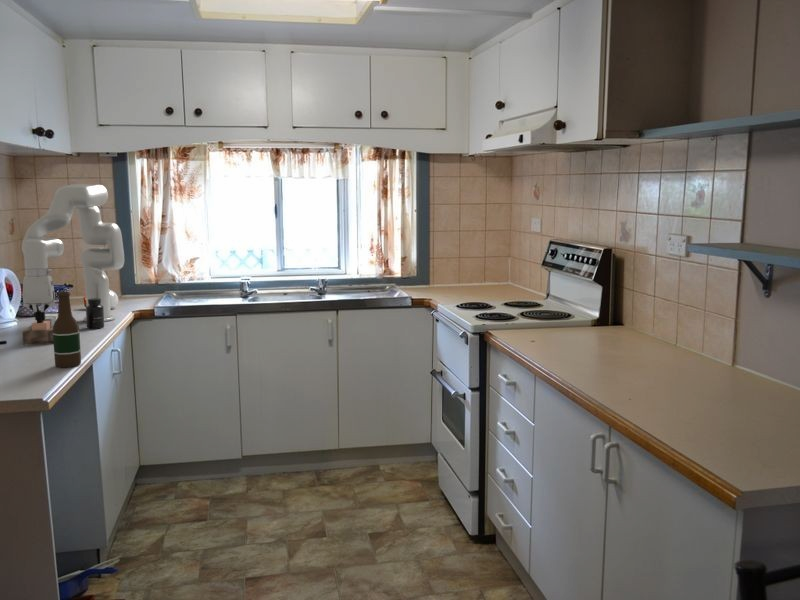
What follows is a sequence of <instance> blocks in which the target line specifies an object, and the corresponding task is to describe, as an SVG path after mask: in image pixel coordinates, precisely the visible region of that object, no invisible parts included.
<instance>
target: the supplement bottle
mask: <svg viewBox="0 0 800 600" xmlns="http://www.w3.org/2000/svg"><path fill="white" fill-rule="evenodd" d="M100 303H101V299H99V298H93V299H88V304H89V305H88V306H87V307H85V317H86V321H85V323H86V328H87V329H88V328H89V330H98V329H99V330H100V329H103V328H105V321H104V307H103V306H102V305H100Z"/></svg>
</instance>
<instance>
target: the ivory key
mask: <svg viewBox="0 0 800 600" xmlns="http://www.w3.org/2000/svg"><path fill="white" fill-rule="evenodd" d="M45 317H54V319H55V321H56V320H57V318H58V313H45Z"/></svg>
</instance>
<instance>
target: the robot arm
mask: <svg viewBox="0 0 800 600" xmlns="http://www.w3.org/2000/svg"><path fill="white" fill-rule="evenodd" d="M55 191H56V192H55V193H54V196H53V198H52V200H51V204H50V206H49V209H48V211H47V213H46V214H45V215H43V216H41V217H40V218H39V219H37V220H35V222H33V223H32V224H31V225H30V226H29V227H28V228H27V229H26V232H25V234H24V237H23V239H22V243H21V251H22V253H23V256H24V259H23V260H24V269H25V271H24V272H25V276H24V277H23V281H22V301H23V305H22V307H24V308H28V309H30V310H32V312H34V319H35V321H37V323H39V322H40V323H42V322H44V320H45V314H46V313H45V312H46V310H47V309H49V308H52V307H55V306H56V301H55V300H56V295H55V287H54V282H53V278H52V275H50V274H53V269H50V268H49V263H48V262H49V261H48V258H50V259H51V258H53V259H54V258H59V257H61V256H62V255H63V254H64V251H65V246H64V245H65V244H64V242H63V241H62V240H61V239H59V238H57V237H44V236H45V235H47V234H49V233H51V232H55V231H58V230H60V229H62V228H65V227H67V226H68V225H69V224H70V222H71V221H72V218H73V217H72V216H73V214H74V212H75V210H76V212H77V215H78V219H79V227H80V234H81V237H82V238H81V239H82V241H83V243H85V245H91V246H95V247H87V248H85V249H84V250H83V251H82V252H81V255H80V260H81V265H82V269H83V276H84V285H85V286H84V287H85V289H84V290H85V297H86V305H87V306H88V305H89V304H88V299H93V298H99V299H101V303H100V305H102V306H103V307H104V322H109V321H112V320H115V319H116V318H115V317H116V316H115V315H113V314H111V311H112V310H111V309H110V293H109V290H110V279H109V277H108V275H107V274H106V272H105V271H110V270H111V271H112V270H113V271H116V270H121V269H122V268H124V265H125V251H124V243H123V236H122V235H123V234H122V230H121V228H120V227H119V225H118V224H117V223H115V222H103V221H102V216H101V210H100V209H99V207H101V206H103V205H105V204H106V203H107V202H108V198H109V192H108V190H107V188H106V187H105V186H104V185H102V184H87V183H86V184H81V183H78V184H75V183H74V184H68V185H65V186H63V185H62V186H61V187H59V188H58V189H56V190H55ZM97 246H107V247H97ZM39 305H40V308H39ZM83 322H86V316H84V317H83Z"/></svg>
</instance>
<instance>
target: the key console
mask: <svg viewBox="0 0 800 600" xmlns="http://www.w3.org/2000/svg"><path fill="white" fill-rule="evenodd" d="M21 332H22V345H23V346H24V345H25V344H28V345H44V344H45V345H47V344H46V343H53V344H54V342H53V327H50V329H49V330H37V331H32V324H30V326H28V327H26V328H25V329H24V330H22V331H21Z"/></svg>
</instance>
